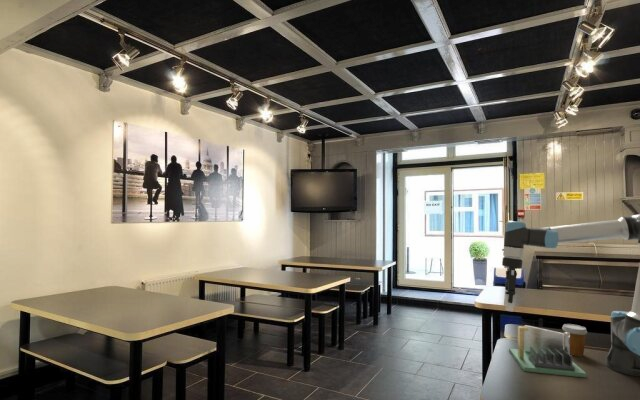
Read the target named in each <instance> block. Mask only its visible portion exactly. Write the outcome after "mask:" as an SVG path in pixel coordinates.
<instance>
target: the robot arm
mask: <svg viewBox="0 0 640 400" xmlns="http://www.w3.org/2000/svg"><path fill="white" fill-rule="evenodd" d="M504 229H505V230H504V238H503V240H504V242H503V248H502V249H501V251H502V252H503V253H502V255H503V257H502V262H501V263H502V264H501V265H502V266H503V267H507V268H506V271H505V286H504V289H505V290H504V297H503V299H504V300H503V306H505V311H507V312H514V305H515V295H516V281H517V275H518V272H517V270H516V269H522V268H523V258H524V250H525V249H524V248H525V247H524V246H531V247H535V248H536V247H537V248H546V249H556V248H557V247H558V245H559V244H564V243H565V244H567V243H568V244H569V243H578V242H589V241H599V240H600V241H602V240H610V239H611V240H614V239H623V240H625V241H629V240H631V241H632V240H636V241H637V240H638V241H637V245H638V246H639V247H640V213H637V214H632V215H627V216H626V215H625V216H620V217H618V219H613V220H612V219H610V220H604V221H603V220H602V221H601V220H600V221H594V222H593V221H592V222H585V223H584V222H583V223H575V224H566V225H564V224H563V225H555V226H547V227H532V228H531V227H527V226H526V222H523V221H512V220H510V221H507V222H506V223H505V228H504ZM610 346H611V347H610V349H609V351H608V353H607V357H606V358H605V359H606V360H605V366H607V367H608V368H609V369H610V370H613V371H616V372H619V373H622V374H626V375H629V376H634V377H640V263H639V265H638V270H637V277H636V281H635V289H634V294H633V300H632V305H631V310H630V311H622V310H613V311H611V314H610Z"/></svg>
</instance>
